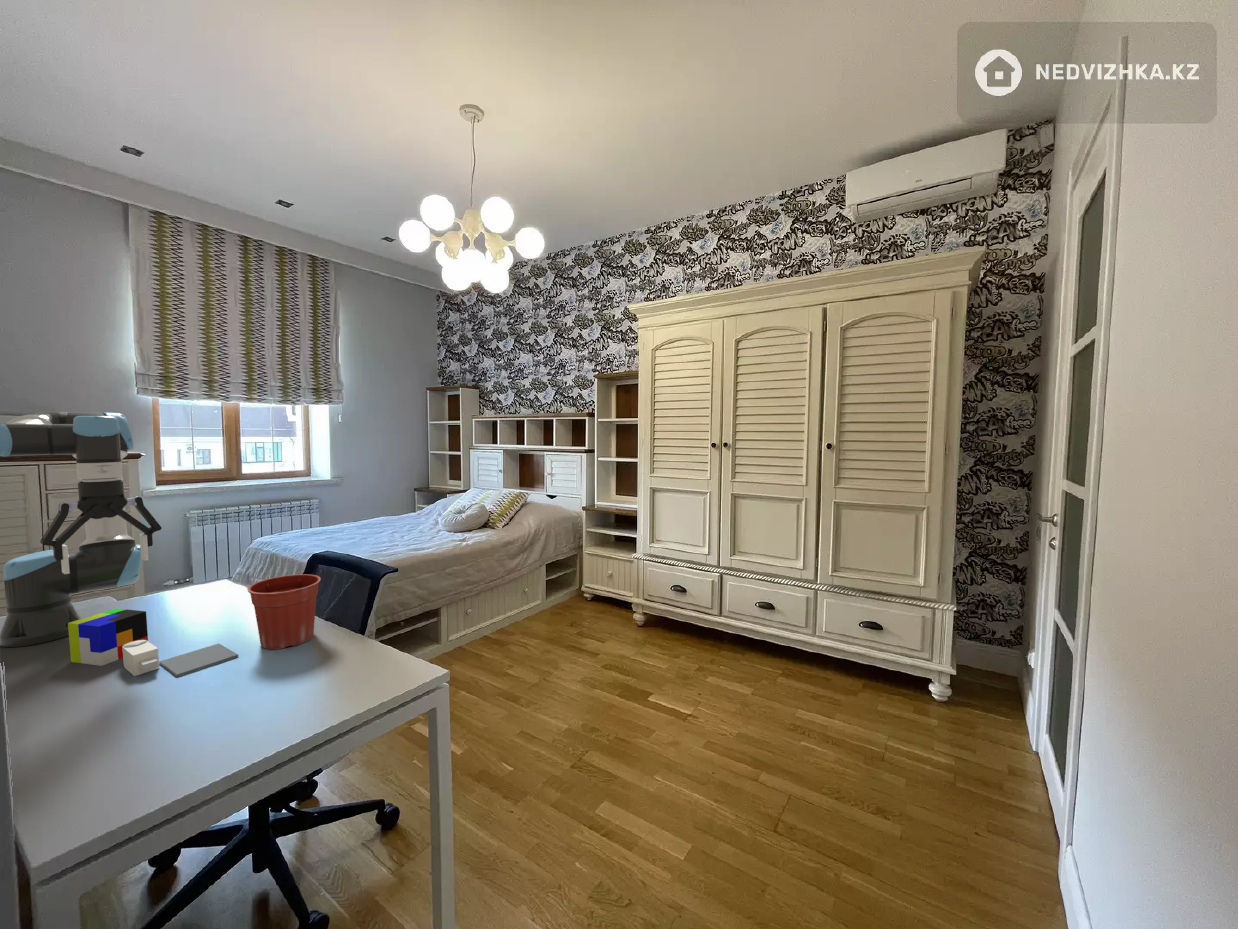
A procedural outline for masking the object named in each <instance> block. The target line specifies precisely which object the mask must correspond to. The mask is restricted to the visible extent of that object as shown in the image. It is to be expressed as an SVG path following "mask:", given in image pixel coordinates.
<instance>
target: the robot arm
mask: <svg viewBox="0 0 1238 929" xmlns="http://www.w3.org/2000/svg"><path fill="white" fill-rule="evenodd" d="M132 449H134V442H133V437H132V432H131V428H130V425H129V422H128V420H127V417H126V416H125V415H124V414H123V413H119V412H105V411H101V412H95V411H94V412H93V411H92V412H91V411H90V412H89V411H88V412H87V411H86V412H85V411H42V412H36V413H28V414H24V415H19V416H15V417H14V418H12V419H10V420H8V421H7V422H6V423H0V457H3V458H5V457H6V458H7V457H21V456H26V457H27V456H58V455H62V456H63V455H64V456H65V455H68V456H69V455H72V457H73V458H75V459H76V461H75V462H76V463H75V464H76V478H77V480H80V481H79V482H78V483H77V490H78V500H77V503H76V502H73V503H70V502H69V503H68V502H67V503H66V502H60V503H59V504H58V512H57V514H56V516H54V518H53V520H52V522H51V523H50V525H49V526H48V528H47V530H46V531H45V532H44V534H43V536H42V537H41V539H40V541H39V543H40V545H43V546H49V547H52V549H48V550H43V551H38V552H32V553H29V554H25V555H21V556H18V557H14V558H12V559H9V561H7V562H6V563H4V566H3V577H2V581H3V582H4V595H5V596H4V597H5V608H6V617H5V619H4V622H3V624H2V627H1V630H0V647H3V648H18V647H26V646H27V647H28V646H33V645H39V644H42V643H47V642H51V641H54V640H58V639H62V638H65V637H69V631H68V623H70V622H73V621H76V620H80V619H82V617H81V615H80V614H79V612H78V610H77V609H76V608H75V606H74V604H73V602H72V595H74V594H79V593H86V592H92V591H99V590H104V589H111V588H118V587H122V586H127V585H132V584H134V583H136V582H138V580H139V579H140V571H141V565H142V564H141V563H142V561H144V562H145V561H149V547H152V546H153V544H154V542H153V534H155V533H156V532H158V531H161V530H162V526H161V524H159V522H158V521H157V520H156V518H154V516H153V515H152V513H151V512H150V511H149V509H147V507H146V506H145V504H144V501H143V498H142V497H141V496H139V495H138V496H137V495H136V496H135V495H134V496H132V497H130V498H126V497H125V491H124V489H125V488H124V475H123V464H122V460H123V459H125V458H126V457H127V456H128V451H131V450H132ZM127 504H130V505H131V507H134V508H135V509H136V510H137V511H138V513H139V514H140V515H141V516H142V518H144V520H145V521H146V522H147V524H148V525H149V527H148V526H146V525H145V524H143V523H142V522H140V521H139V520H138V519H136V518H135V517H134V516H132V515H130V514H129V512H127V510H126V506H127ZM74 509H78V510H79V511H80V512H81V513H80V514H79V515H78V516H77V517H76V519H75V520H74V521H72V523H71V524H69V525H68V527H67V528H65V529H64V530H63V531H62V532H61V533H60V534H59V535H58V536H57V537H56V535H57V533H58V532H59V530H60V528H61V527H62V525H63V524H64V522H65V521H66V519H67V517H68V515H69V513H72V512H74ZM127 522H128V523H129V524H131V526H133V527H135V528H136V529H138V530H139V531H141V532H142V533H140V534H139V544H137V543H136V539H135V538H133V537H132V536H130V535H129V534H128V528H127V526H128V525H127V524H128V523H127ZM83 525H84V527H85V539H84V541H83V542H81V543H80V544H79V546H78V551H77V552H71V553H69V548H68V545H66V544H65V543H66V542H67V541H68V540H69V539H70V538H71V537H72V536H73V535H74V534H75V533H76V532H78V531H79V529H80V528H81V527H82V526H83ZM55 537H56V538H55ZM54 538H55V539H54Z"/></svg>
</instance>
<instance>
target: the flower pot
mask: <svg viewBox="0 0 1238 929" xmlns="http://www.w3.org/2000/svg"><path fill="white" fill-rule="evenodd" d="M320 582H321V577H320V576H318V575H317V574H316V575H315V574H310V573H309V574H306V573H305V574H303V573H300V574H299V573H298V574H288V575H287V574H286V575H281V576H275V577H271V578H266V579H263V580H259V581H258V582H254V583H253V584H251V585H249V586H248V587H247V589H246V590H247V592H248V594H250V595H249V596H250V598H251V604H252V605H253V609H254V614H255V618H256V625H257V630H258V636H259V642H260V644H259V645H260V646H261V647H262V648H264V649H267V650H281V649H286V648H287V647H290V646H293V647H296V646H299V645H302V644H304V643H306V642H308V641H309V640H311V639H312V638H313V637H314V635H315V622H316V621H315V620H316V605H317V604H316V603H317V595H318V593H319V583H320Z"/></svg>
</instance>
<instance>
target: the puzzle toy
mask: <svg viewBox="0 0 1238 929" xmlns="http://www.w3.org/2000/svg"><path fill="white" fill-rule="evenodd" d="M147 619H148V618H147V611H146V610H136V609H134V610H133V609H126V608H125V609H124V608H113V609H110V610H107V611H103V612H99V613H97V614H93V615H90V616H88V617H87V616H86V617H84V618H81V619H80V620H76V621H73V622H70V623H68V631H69V635H68V640H69V642H68V643H69V651H70V652H69V654H70V662H71V663H78V664H85V665H92V666H101V667H102V666H105V665H108V664H111V663H114V662H116V661H118V660H121V659H123V649H122V646H123V645H125V644H127V643H130V642H133V641H138V640H147V641H148V642H149V633H148V620H147Z"/></svg>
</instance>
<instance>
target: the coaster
mask: <svg viewBox="0 0 1238 929" xmlns="http://www.w3.org/2000/svg"><path fill="white" fill-rule="evenodd" d="M235 658H239V654H238V653H236V652H235V651H233V650H231V649H229V648H228V647H226V646H224V645H222V644H221V643H216V644H213V645H212V644H211V645H210V646H206V647H203V648H200V649H195V650H193V651H189V652H186V653H183V654H179V655H176V656H173V657H170V658H166V659H163V660H160V661H159V665H161V667H163V668H164V669H166V670H167V671H168V672H170V673H171V674H172V675H173V676H175V677H176V678H178V677H181V676H184V675H187V674H190V673H193V672H196V671H200V670H203V669H205V668H208V667H212V666H214V665H217V664H221V663H225V662H227V661H229V660H233V659H235Z"/></svg>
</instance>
